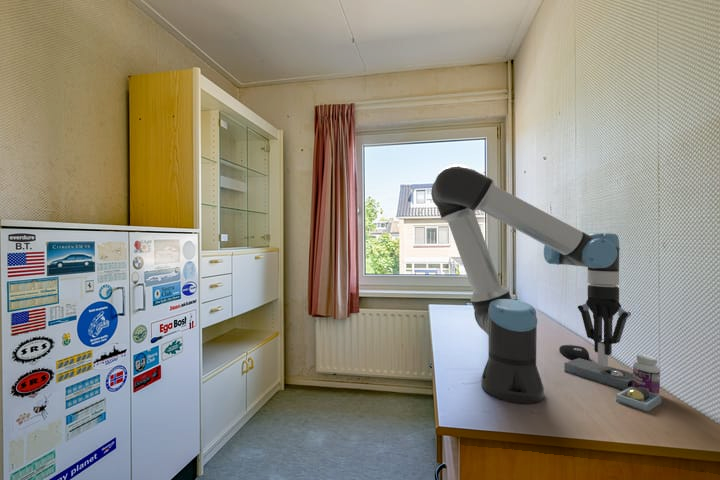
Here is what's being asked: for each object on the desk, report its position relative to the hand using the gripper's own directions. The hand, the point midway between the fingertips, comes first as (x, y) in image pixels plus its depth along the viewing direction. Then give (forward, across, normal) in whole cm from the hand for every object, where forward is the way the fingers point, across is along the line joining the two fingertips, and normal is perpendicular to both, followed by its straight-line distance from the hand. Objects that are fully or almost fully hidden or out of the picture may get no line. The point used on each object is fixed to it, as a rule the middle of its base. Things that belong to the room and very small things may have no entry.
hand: (602, 364), depth 95 cm
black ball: (+2, -12, +8) cm, 14 cm away
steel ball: (+2, -4, 0) cm, 4 cm away
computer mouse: (+4, +14, -13) cm, 19 cm away
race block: (+4, 0, 0) cm, 4 cm away
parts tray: (+4, -12, +10) cm, 15 cm away
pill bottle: (+4, -10, +1) cm, 11 cm away
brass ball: (+2, -12, +12) cm, 16 cm away
